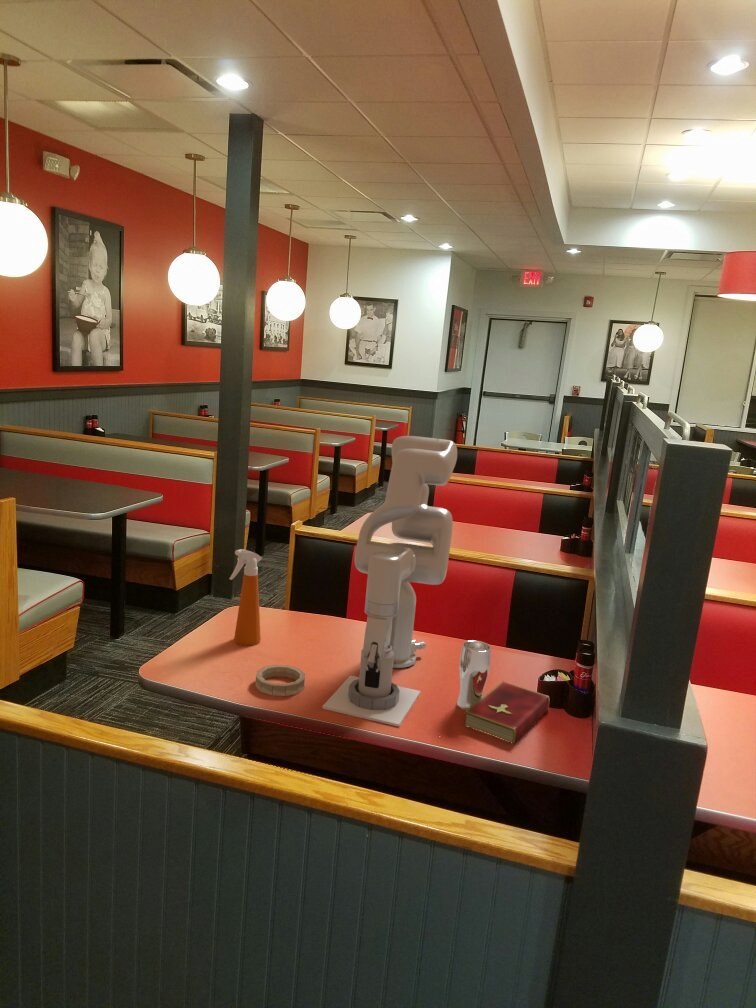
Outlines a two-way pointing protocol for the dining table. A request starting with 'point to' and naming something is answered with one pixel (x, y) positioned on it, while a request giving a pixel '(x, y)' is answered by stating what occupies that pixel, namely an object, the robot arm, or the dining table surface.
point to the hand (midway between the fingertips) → (375, 678)
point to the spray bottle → (248, 599)
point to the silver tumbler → (473, 672)
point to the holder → (372, 703)
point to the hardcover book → (507, 711)
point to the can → (385, 675)
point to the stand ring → (278, 688)
